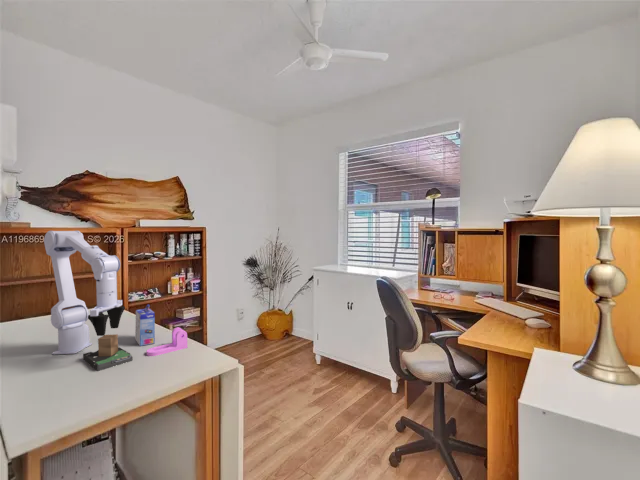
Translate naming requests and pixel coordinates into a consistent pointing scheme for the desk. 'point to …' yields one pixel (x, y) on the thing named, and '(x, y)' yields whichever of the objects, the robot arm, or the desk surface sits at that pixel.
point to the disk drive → (106, 359)
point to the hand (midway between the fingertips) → (107, 331)
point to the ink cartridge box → (145, 326)
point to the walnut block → (108, 345)
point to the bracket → (177, 343)
